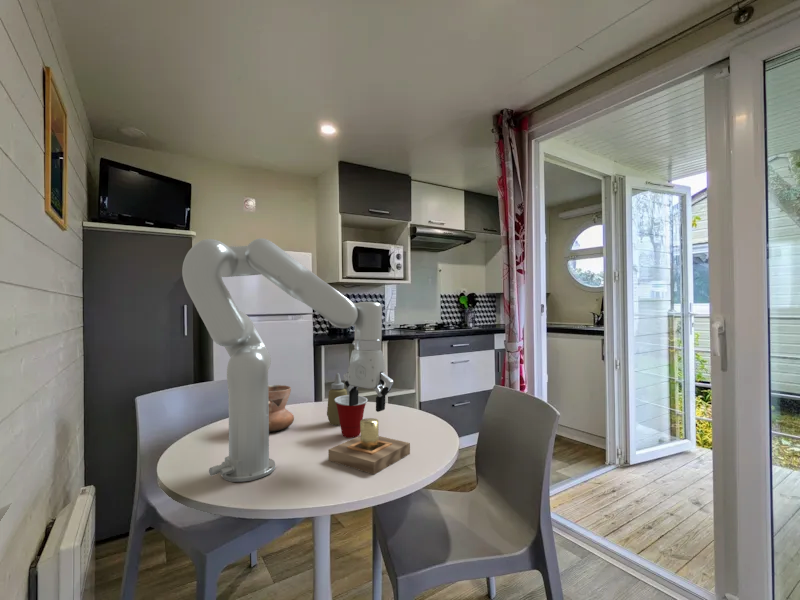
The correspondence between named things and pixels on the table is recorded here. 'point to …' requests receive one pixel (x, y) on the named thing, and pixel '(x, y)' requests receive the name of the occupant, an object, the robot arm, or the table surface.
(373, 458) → the walnut plate
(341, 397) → the plastic cup
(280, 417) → the ceramic jug
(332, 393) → the squeeze bottle
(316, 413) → the table surface
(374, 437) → the brass peg
